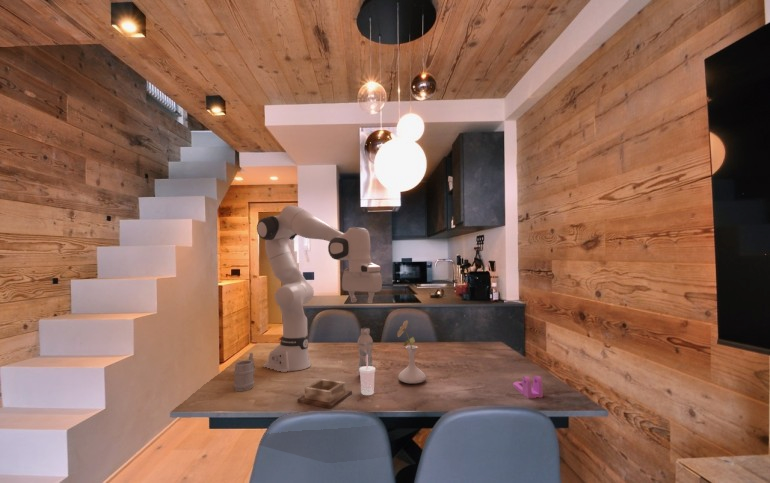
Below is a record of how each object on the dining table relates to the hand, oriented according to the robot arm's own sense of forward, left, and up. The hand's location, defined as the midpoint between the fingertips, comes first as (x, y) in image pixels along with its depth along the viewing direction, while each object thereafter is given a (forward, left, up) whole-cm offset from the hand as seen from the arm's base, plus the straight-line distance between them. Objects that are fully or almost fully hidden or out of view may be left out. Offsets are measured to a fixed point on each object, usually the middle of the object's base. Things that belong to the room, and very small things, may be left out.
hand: (361, 302), depth 139 cm
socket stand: (-8, -14, -33) cm, 36 cm away
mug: (-44, -16, -33) cm, 57 cm away
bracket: (+58, +20, -33) cm, 70 cm away
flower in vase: (+15, +13, -33) cm, 38 cm away
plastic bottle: (-5, +12, -33) cm, 35 cm away
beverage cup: (+4, -4, -33) cm, 33 cm away
